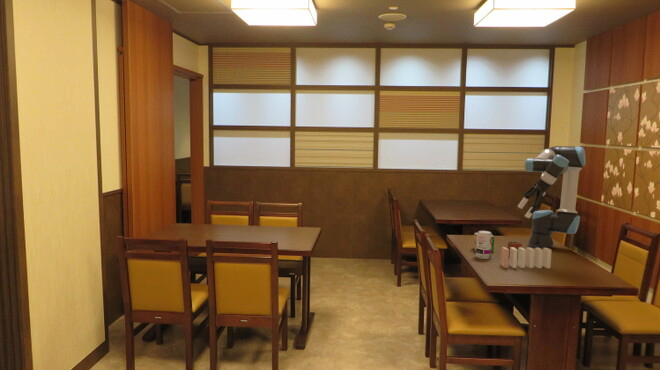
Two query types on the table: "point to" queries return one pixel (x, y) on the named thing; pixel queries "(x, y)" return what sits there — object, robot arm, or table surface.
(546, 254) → the domino
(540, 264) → the domino
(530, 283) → the table surface
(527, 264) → the domino
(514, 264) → the domino
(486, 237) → the supplement can
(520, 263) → the domino
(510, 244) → the battery
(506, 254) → the domino
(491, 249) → the puzzle cube
